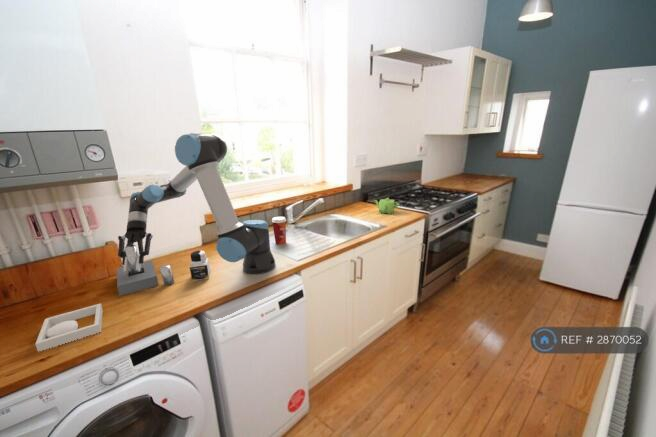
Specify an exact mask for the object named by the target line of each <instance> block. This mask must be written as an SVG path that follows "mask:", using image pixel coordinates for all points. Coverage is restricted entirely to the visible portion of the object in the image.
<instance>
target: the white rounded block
mask: <svg viewBox="0 0 656 437" xmlns="http://www.w3.org/2000/svg"><path fill="white" fill-rule="evenodd" d="M77 329H79V324H78V322H77V320H70V321H64V322H61V323H58V324H56V325H55V326H52V327H51V328H49V329H48V330H47V332H46V336H47V337H48V338H51V337H54V336H57V335H60V334H64V333H67V332H70V331H73V330H77Z"/></svg>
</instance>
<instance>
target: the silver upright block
mask: <svg viewBox="0 0 656 437" xmlns="http://www.w3.org/2000/svg"><path fill="white" fill-rule="evenodd" d="M159 270H160V274H161V278H162V282H163V286H166V287H167V286H171V285H173V284H174V283H175V279H174V276H173V272H172V268H171V265H170V264H163V265H162V266H160V267H159Z"/></svg>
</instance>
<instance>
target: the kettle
mask: <svg viewBox="0 0 656 437" xmlns="http://www.w3.org/2000/svg"><path fill="white" fill-rule="evenodd" d="M373 201H374V203H375V204H376V207H377V208H378V213H380V214H381V215H384V214H388V215H392V214H394V211H395V209H396V208H397V207H399V206H401V205H400V203H399V202H398V203H396V204H395V199H390V198H389V197H386V198H383V199H380V200H379V202H378V200H377V199H373Z"/></svg>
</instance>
